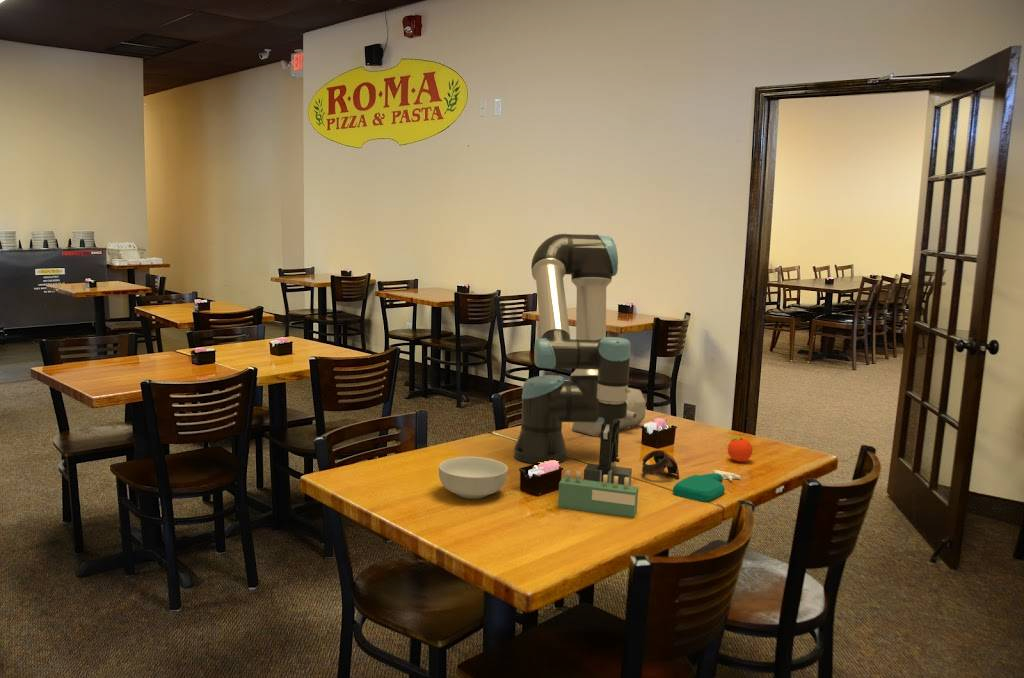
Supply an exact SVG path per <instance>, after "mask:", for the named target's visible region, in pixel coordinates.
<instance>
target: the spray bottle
mask: <svg viewBox="0 0 1024 678" xmlns="http://www.w3.org/2000/svg"><path fill="white" fill-rule="evenodd" d="M741 478H742V477H741V475H740V474H736V473H733V472H728V471H723V470H718V469H713V470H712V473H706V474H694V475H691V476H688V477H685V478H683V479H681V480H680V481H678V482H676V483H675V484H674V486H673V488H672V493H673V495H674V494H675V496H676V495H677V496H676V497H680V496H681V497H680V498H684V497H685V499H688V498H689V500H692V499H693V501H696V500H698V501H697V502H701V501H704V502H703V503H707V501H708V502H712V501H713V500H715V499H718V498H719V497H720V496H721V495H724V494H725V490H726V488H725V486H724V484H723V483H722V481H723V480H728V481H730V482H733V480H736V479H737V480H741Z"/></svg>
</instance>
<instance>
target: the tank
mask: <svg viewBox="0 0 1024 678" xmlns="http://www.w3.org/2000/svg"><path fill="white" fill-rule="evenodd" d="M627 389H630V393H628V394H627V400H626V401H625V402H626V403H627V415H626V417H625V418H623V419H618V420H620V428H619V431H621V429H623V430H625V428H627V429H629V428H628V427H631V428H633V427H632V426H635V427H637V426H636V425H638V426H639V425H640V424H641V423H642V422H643V421H644V419H646V408H647V407H646V406H647V403H646V400H645V397H644V394H643V393H642V391H641V390H640V389H638V388H637V389H636V388H632V387H627ZM603 423H604V422H599V423H583V422H573V423H572V427H571V431H573V432H576V431H577V433H580V432H581V434H584V433H585V434H584V435H587V434H588V435H589V436H591V435H592V436H591V437H598V436H600V432H601V425H602V424H603ZM588 435H587V436H588ZM597 435H598V436H597Z"/></svg>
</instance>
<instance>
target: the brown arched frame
mask: <svg viewBox="0 0 1024 678" xmlns="http://www.w3.org/2000/svg"><path fill="white" fill-rule="evenodd" d="M652 458H653V460H654V462H655V463H654V464H648V463H647V462H648V461H649V460H651V459H652ZM641 465H642V467H641V472H642V476H643V477H645V476H646V475H650V476H651V475H655V474H658V473H662V474H665V473H666V472H665V469H667V474H675V475H676V479H677V480H680V471H679V467H678V463H677V461H676V459H675V458H674V457H673V456H672V455H671V454H668V452H667V451H665V450H664V449H656V450H652V451H650V452H648V453H647V454H645V456H643V458H642V464H641Z"/></svg>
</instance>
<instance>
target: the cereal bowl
mask: <svg viewBox="0 0 1024 678" xmlns="http://www.w3.org/2000/svg"><path fill="white" fill-rule="evenodd" d="M508 469H509V468H508V465H506V464H505V463H503V462H502V461H500V460H497V459H493V458H488V457H482V456H458V457H452V458H449V459H445V460H443V461H442V462H440V464H439V465H438V477H439V481H440V483H441V484H442V486H443V487H444V488H445V489H446V490H448V491H449V492H451V493H453V494H456V495H457V496H458V497H461V498H463V499H464V498H465V499H471V500H472V499H473V500H475V499H477V500H478V499H482V498H485V497H487V496H488V495H489V496H490V495H492V494H494V493H497V492H498V491H500V490H501V489H502V488H503V487H504V486H505V484H506V482H507V478H508V471H509V470H508Z"/></svg>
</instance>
